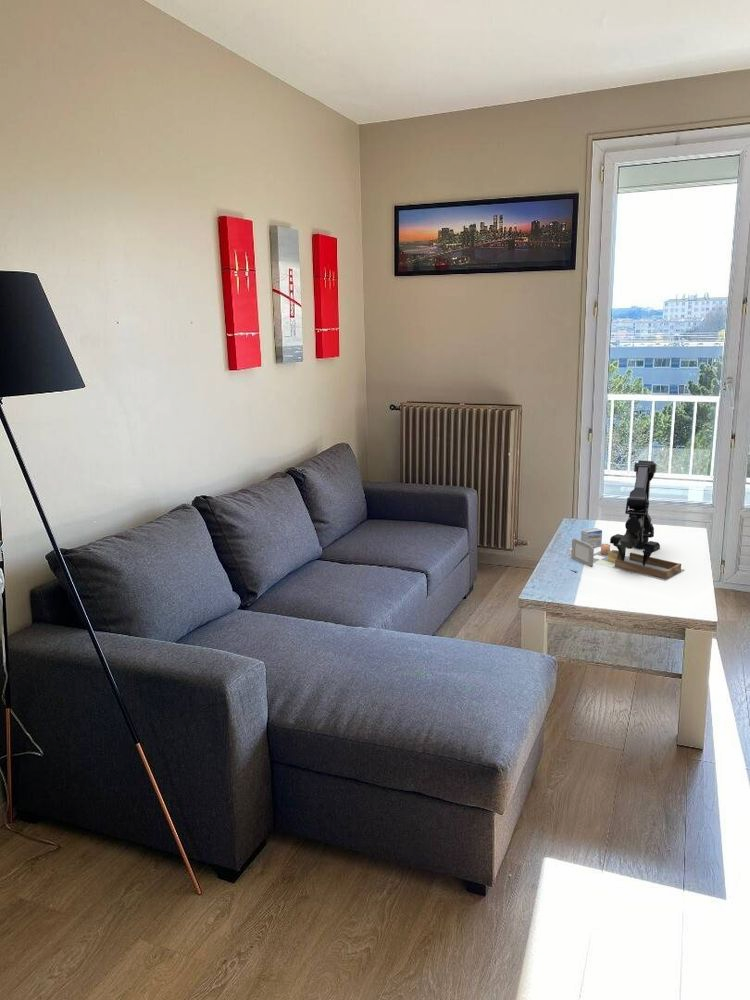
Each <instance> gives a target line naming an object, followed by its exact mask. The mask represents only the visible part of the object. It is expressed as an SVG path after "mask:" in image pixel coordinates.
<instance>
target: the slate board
mask: <svg viewBox="0 0 750 1000" xmlns="http://www.w3.org/2000/svg"><path fill="white" fill-rule="evenodd" d="M595 556H599V557H603V558H595ZM629 558H630V556H627V555H625V559H624V561H626V562H630V563H634V564H638V565H642V566H643V563H641V562H636V561H632V560H629ZM593 564H595V565H599V566H604V567H607V568H611V569H616V570H620V571H623V572H626V573H627V572H628V573H631V574H636V575H638V576H643V577H648V578H651V579H654V580H655V579H656V580H659V581H664V582H667V581H669V580H670V579H672V578H674V577H676V576H677V575H680V574H681V573H682V572H685V571H686V569H684V568H683V569H682V568H681V571H680V572H678V573H677V574H675V575H673V576H671V577H669V578H668V579H662V578H658V577H654V576H650V575H646V574H642V573H638V572H634V571H630V570H626V569H622V568H618V567H615V563H613V562H609V561H608V555H601V550H600V551H598V552H595V553H594V555H593ZM645 566H646V567H651V568H655V569H659V570H663V571H666V570H668V569H666V568H662V567H658V566H653V565H649V564H645Z"/></svg>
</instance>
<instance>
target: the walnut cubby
mask: <svg viewBox="0 0 750 1000" xmlns="http://www.w3.org/2000/svg"><path fill="white" fill-rule="evenodd" d="M629 557H630V558H629V560H632V561H636V562H641V563H643V557H644V554H639V553H634V552H629ZM646 564H649V565H653V566H658V567H662V568H666V569H668V570H666V571H663V570H659V569H655V568H651V567H646V566H642V565H638V564H634V563H630V562H626V561H621V560H617V559H616V560H615V567H618V568H622V569H626V570H630V571H634V572H638V573H642V574H646V575H650V576H654V577H658V578H662V579H668V578H669V577H671V576H673V575H675V574H677V573H678V572H680V571H681V569H682V564H681V563H678V562H673V561H668V560H665V559H660V558H656V557H652V556H650V557H649V559H648V561H647V563H646ZM668 580H669V579H668Z"/></svg>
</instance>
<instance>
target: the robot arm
mask: <svg viewBox="0 0 750 1000" xmlns="http://www.w3.org/2000/svg"><path fill="white" fill-rule="evenodd" d="M657 466H658V465H657V463H655V461H653V460H638V461H637V462H635V463H634V468H633V472H635V477H636V478H635V483H634V488H633V489H632V490H631V491H630V492H629V497H628V496H627V499H626V506H625V513H624V514H625V515H626V514H627V515H628V518H627V520H626V522H625V524H624V525H625V529H626V530H625V533H624V534H620V533H617V534H615V535H612V536H610V538H609V539H610V540H609V543H610V544H612V545H613V546H614V547H615V548H616V549H617V551H619V553H620V556H621V559H622V561H624V559H625V556H626V550H627V549H628V550H629V549H637V550H642V549H643V551H642V554H643V555H644V557H643V566H645V564H646V563H647V561H648V559H649V557H651V555H652V554H653V553H655V552H657V551H659V550H661V545H660V542H658V541H657V542H656V541H653V540H650V541H649V538H653V537H654V535H655V528H654V525H653V523H652V518H651V516H650V514H649V507H650V485H651V481H652V479H653V478H654V477H655V473H657Z"/></svg>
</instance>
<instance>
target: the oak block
mask: <svg viewBox="0 0 750 1000" xmlns="http://www.w3.org/2000/svg"><path fill="white" fill-rule="evenodd" d="M616 559H617V560H621V561H622V559H621V556H620V553H619V550H618V549H617V550H615V549H612V550H610V551H609V552H608V561H609V562H613V563H615V560H616Z"/></svg>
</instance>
